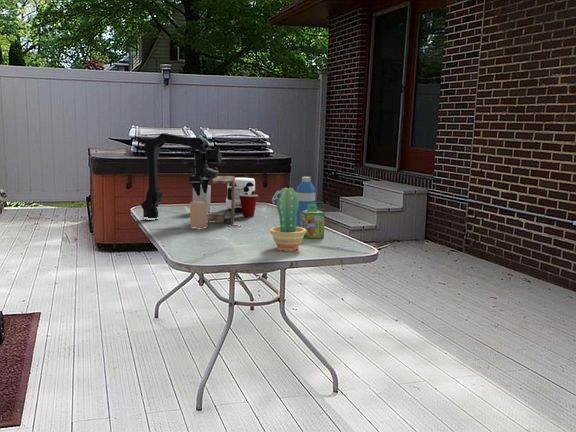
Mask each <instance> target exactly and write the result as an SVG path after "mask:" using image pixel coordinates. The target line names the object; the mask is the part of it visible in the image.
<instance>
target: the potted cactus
mask: <svg viewBox="0 0 576 432" xmlns="http://www.w3.org/2000/svg"><path fill="white" fill-rule="evenodd" d="M271 202H272V205H273V206H276V209H277V214H278V218H279V226H273V227H270V228H269V233H270V235H272V238H273V242H274V243H275V245H276V250H279V251H282V250H284V251H283V252H293V251H292V250H294V251H297V250H296V249H298V250H299V246H300V244H301V243H302V241H303V239H304V235H305V234H306V231H307V230H306V229H305V228H301V227H296V213H297V210H298V205H299V197H298V195H297V194H296V191H295V189H294V188H292V187H289V188H288V187H282V188H281V190H277V191H276V192H274V195H273V196H272V198H271ZM275 204H276V205H275Z"/></svg>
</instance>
